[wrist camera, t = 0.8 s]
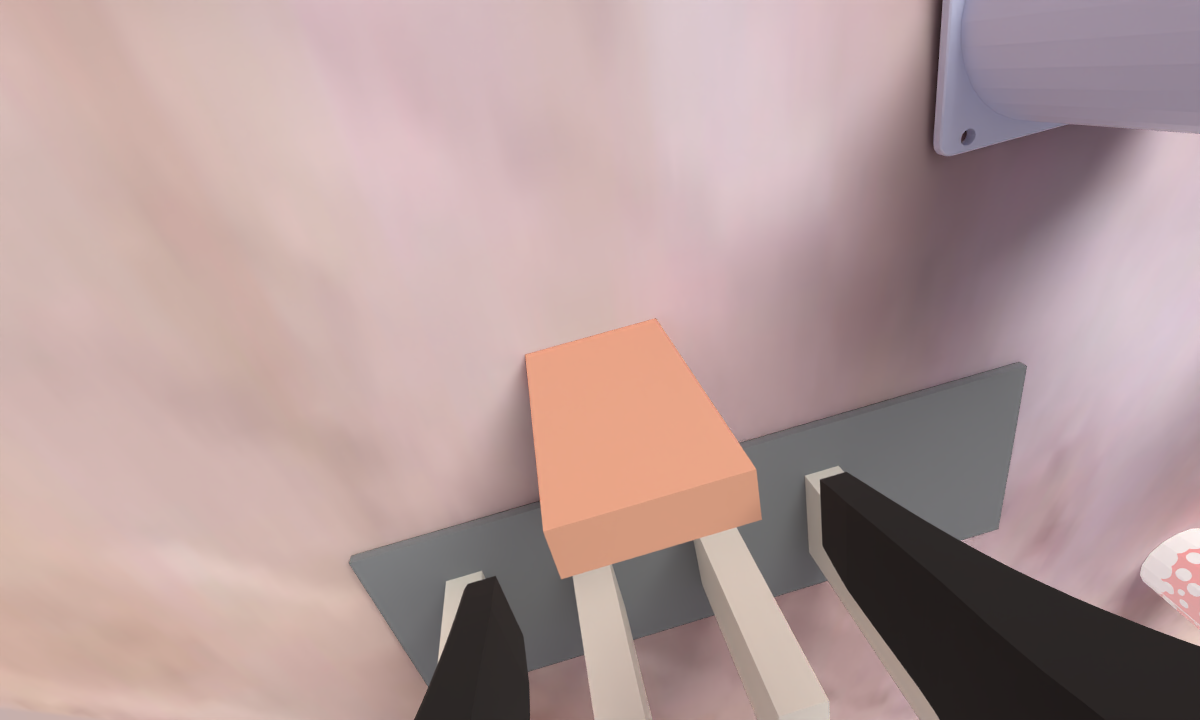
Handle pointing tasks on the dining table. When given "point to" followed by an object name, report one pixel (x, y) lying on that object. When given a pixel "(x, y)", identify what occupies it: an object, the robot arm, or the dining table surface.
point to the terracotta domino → (630, 450)
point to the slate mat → (777, 542)
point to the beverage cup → (1177, 573)
